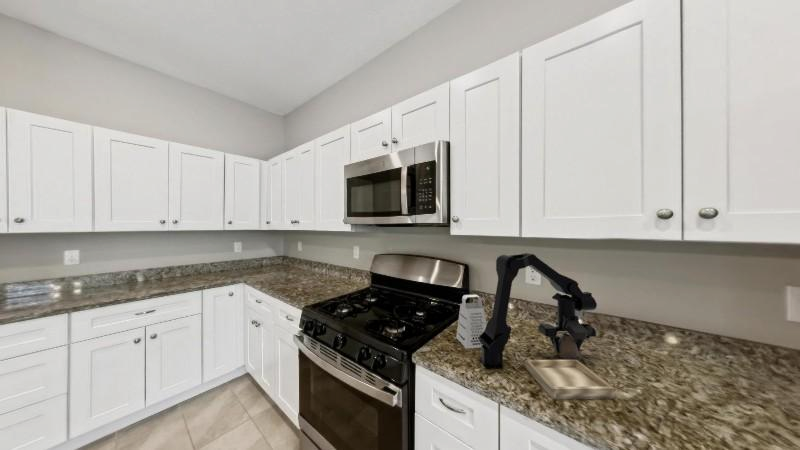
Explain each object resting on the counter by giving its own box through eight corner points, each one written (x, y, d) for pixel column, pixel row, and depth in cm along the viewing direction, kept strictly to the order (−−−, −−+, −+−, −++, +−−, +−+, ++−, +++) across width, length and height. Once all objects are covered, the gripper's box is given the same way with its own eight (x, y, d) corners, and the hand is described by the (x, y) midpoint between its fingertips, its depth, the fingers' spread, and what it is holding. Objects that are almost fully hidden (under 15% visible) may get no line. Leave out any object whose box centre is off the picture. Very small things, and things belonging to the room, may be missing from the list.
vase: (578, 364, 92) (578, 340, 92) (556, 359, 96) (555, 336, 96) (577, 356, 98) (577, 333, 98) (556, 351, 102) (556, 329, 102)
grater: (489, 346, 107) (489, 298, 107) (465, 348, 105) (465, 299, 105) (478, 335, 117) (477, 292, 117) (456, 337, 116) (455, 293, 116)
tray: (552, 399, 74) (552, 388, 74) (525, 368, 90) (525, 360, 90) (614, 398, 74) (614, 388, 74) (576, 368, 90) (576, 359, 90)
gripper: (554, 319, 89) (554, 364, 89) (608, 318, 89) (608, 363, 89) (537, 308, 100) (537, 348, 100) (585, 308, 100) (585, 348, 100)
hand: (566, 352), depth 97 cm, fingers closed on vase, 7 cm apart
